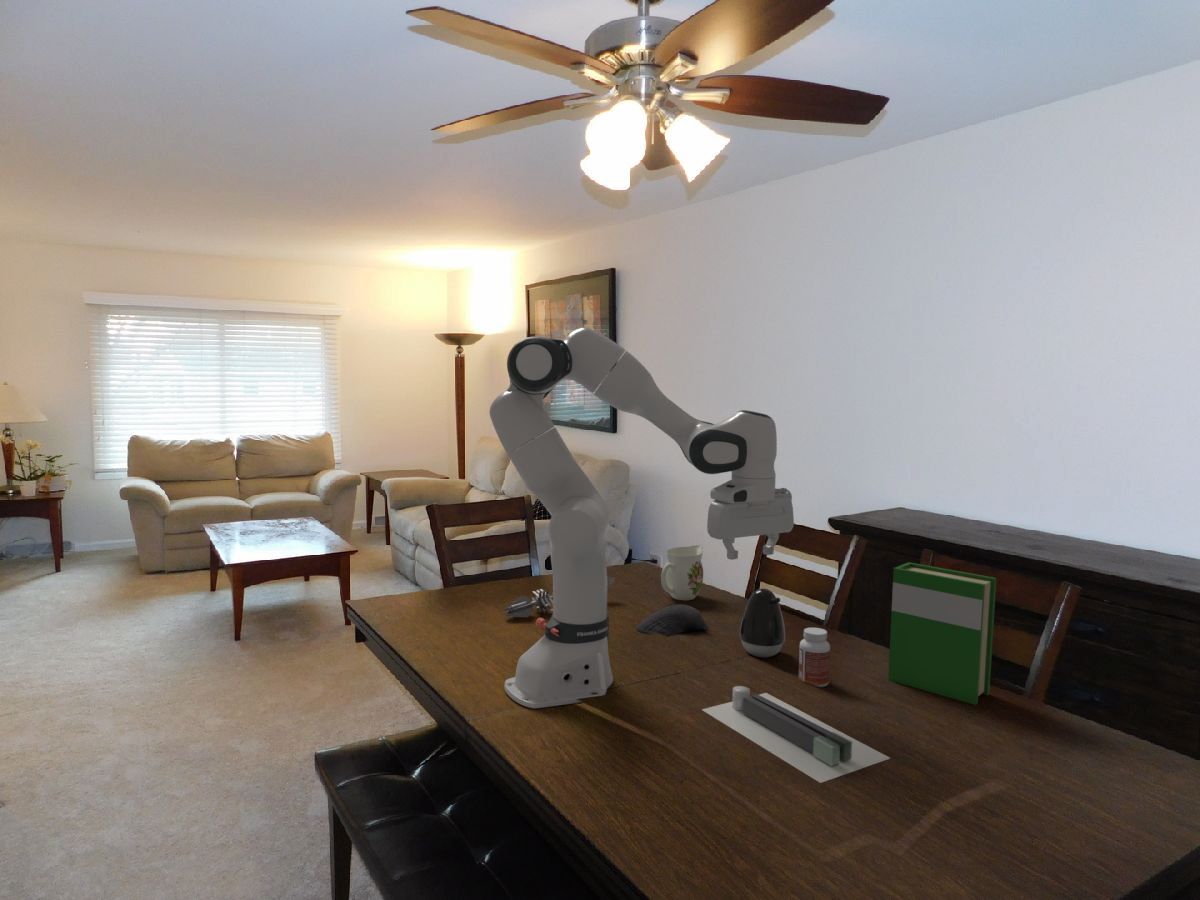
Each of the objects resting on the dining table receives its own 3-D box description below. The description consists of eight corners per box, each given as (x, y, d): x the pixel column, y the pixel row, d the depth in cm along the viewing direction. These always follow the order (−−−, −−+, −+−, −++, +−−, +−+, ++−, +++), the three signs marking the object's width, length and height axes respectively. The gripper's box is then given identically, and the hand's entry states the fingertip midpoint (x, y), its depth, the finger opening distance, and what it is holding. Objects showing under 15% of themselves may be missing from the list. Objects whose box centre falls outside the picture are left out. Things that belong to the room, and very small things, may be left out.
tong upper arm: (750, 711, 145) (751, 695, 145) (757, 708, 146) (758, 693, 146) (843, 761, 127) (844, 744, 126) (851, 758, 128) (852, 741, 127)
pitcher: (646, 600, 220) (647, 552, 218) (684, 587, 233) (685, 542, 232) (677, 608, 212) (678, 559, 211) (715, 595, 226) (716, 548, 224)
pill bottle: (835, 684, 162) (837, 632, 161) (815, 690, 158) (817, 637, 157) (812, 674, 167) (814, 624, 166) (792, 680, 163) (793, 629, 162)
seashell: (720, 643, 193) (724, 611, 193) (651, 644, 186) (656, 611, 185) (691, 624, 206) (695, 595, 206) (626, 624, 199) (630, 593, 198)
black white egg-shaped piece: (758, 664, 172) (761, 597, 171) (730, 649, 181) (732, 585, 180) (794, 657, 177) (797, 592, 175) (764, 643, 186) (767, 580, 184)
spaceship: (624, 575, 216) (608, 559, 222) (514, 609, 196) (499, 591, 202) (620, 598, 220) (604, 582, 225) (511, 633, 200) (496, 615, 205)
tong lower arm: (727, 706, 148) (727, 688, 147) (741, 703, 150) (742, 684, 149) (831, 767, 125) (832, 746, 125) (847, 762, 127) (848, 741, 127)
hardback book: (989, 694, 157) (996, 578, 155) (976, 705, 152) (983, 584, 150) (903, 670, 170) (908, 562, 167) (888, 679, 164) (893, 568, 162)
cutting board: (820, 788, 121) (820, 782, 121) (701, 714, 147) (701, 709, 147) (890, 763, 129) (890, 758, 129) (765, 697, 155) (766, 692, 155)
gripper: (781, 485, 167) (778, 548, 169) (703, 490, 157) (701, 558, 159) (802, 489, 162) (799, 554, 163) (723, 495, 152) (720, 565, 153)
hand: (750, 556), depth 161 cm, fingers open, 8 cm apart
